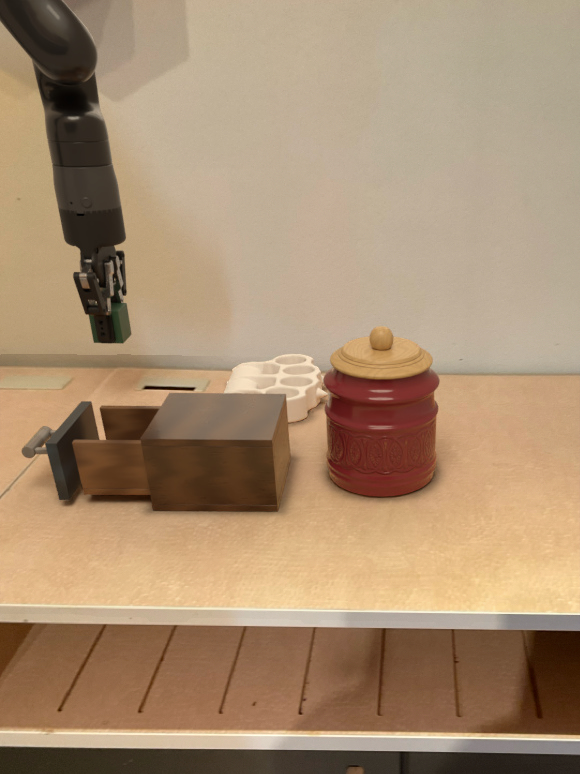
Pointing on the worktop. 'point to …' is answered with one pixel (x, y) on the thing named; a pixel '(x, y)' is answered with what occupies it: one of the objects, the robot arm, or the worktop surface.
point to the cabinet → (217, 452)
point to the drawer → (96, 451)
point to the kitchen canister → (381, 415)
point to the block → (116, 323)
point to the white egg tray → (281, 382)
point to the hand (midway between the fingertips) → (112, 336)
